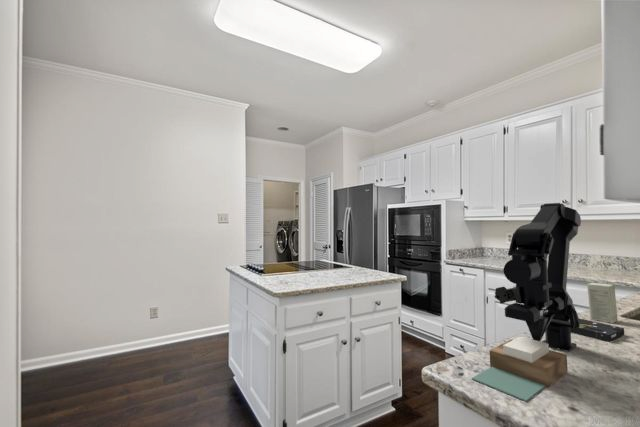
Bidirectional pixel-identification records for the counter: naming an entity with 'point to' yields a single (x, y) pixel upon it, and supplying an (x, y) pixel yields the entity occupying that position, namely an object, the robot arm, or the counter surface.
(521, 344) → the cream rectangular block
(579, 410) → the counter surface
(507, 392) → the mat
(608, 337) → the disk drive
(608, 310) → the skincare box
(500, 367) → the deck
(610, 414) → the counter surface
